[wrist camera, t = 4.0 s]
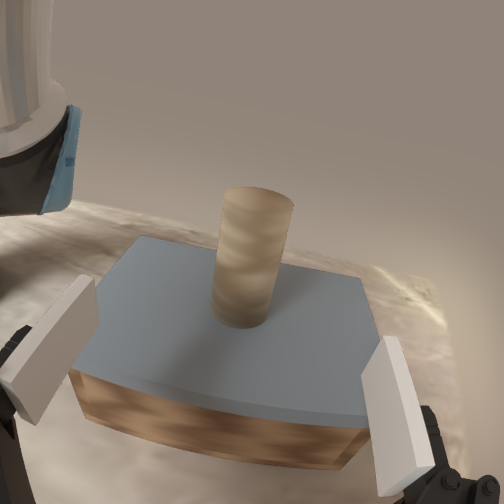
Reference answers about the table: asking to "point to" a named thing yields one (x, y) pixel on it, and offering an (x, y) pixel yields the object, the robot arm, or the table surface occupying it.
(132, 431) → the brown wooden open box
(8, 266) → the table surface
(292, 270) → the lid
